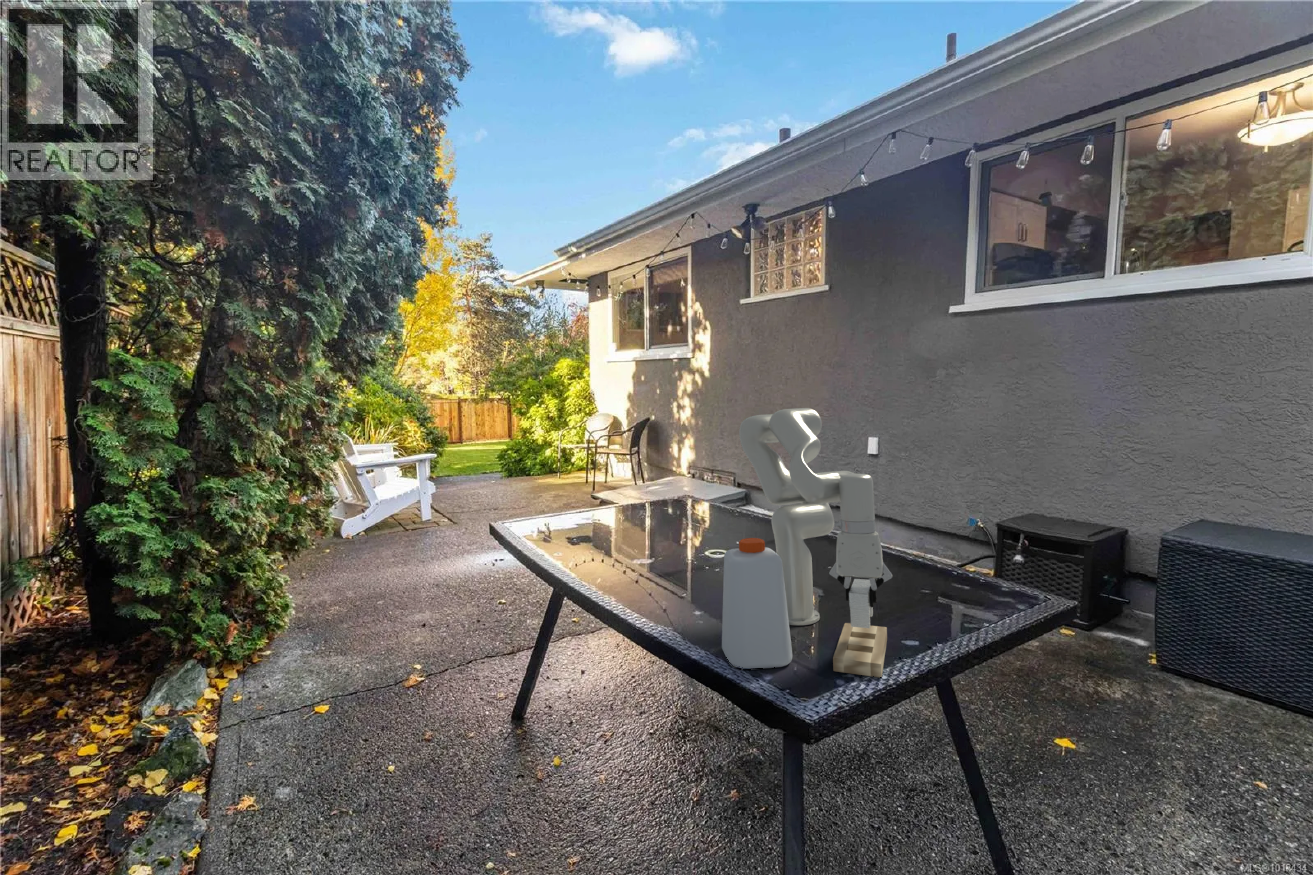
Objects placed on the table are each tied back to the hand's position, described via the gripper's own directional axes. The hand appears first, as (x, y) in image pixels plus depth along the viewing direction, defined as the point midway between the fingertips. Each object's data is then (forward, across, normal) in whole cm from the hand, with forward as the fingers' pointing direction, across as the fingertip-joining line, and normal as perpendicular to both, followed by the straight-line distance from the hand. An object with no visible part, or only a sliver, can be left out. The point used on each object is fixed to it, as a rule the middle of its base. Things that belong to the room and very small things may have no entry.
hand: (861, 603), depth 135 cm
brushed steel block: (+4, 0, 0) cm, 4 cm away
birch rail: (+12, 0, 0) cm, 12 cm away
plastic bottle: (+12, -24, -8) cm, 28 cm away
